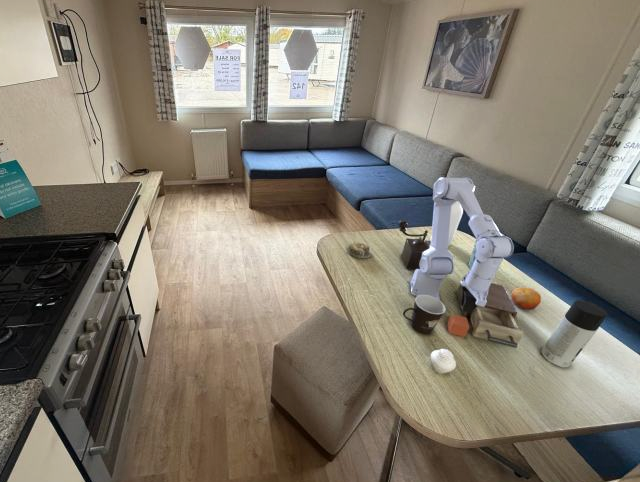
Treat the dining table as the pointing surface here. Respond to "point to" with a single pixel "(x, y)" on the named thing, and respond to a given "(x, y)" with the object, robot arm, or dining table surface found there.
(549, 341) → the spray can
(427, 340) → the dining table surface
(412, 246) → the manual coffee grinder
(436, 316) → the coffee mug
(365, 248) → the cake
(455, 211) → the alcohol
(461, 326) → the block
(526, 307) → the fruit
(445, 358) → the white garlic bulb
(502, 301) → the cabinet
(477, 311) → the drawer
